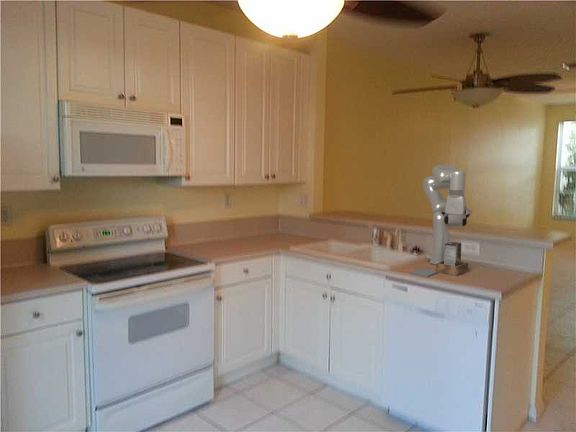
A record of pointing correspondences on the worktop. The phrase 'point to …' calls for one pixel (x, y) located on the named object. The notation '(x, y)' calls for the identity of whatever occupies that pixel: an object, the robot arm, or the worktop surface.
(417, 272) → the mat
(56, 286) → the worktop surface
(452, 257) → the coffee box
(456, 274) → the holder
